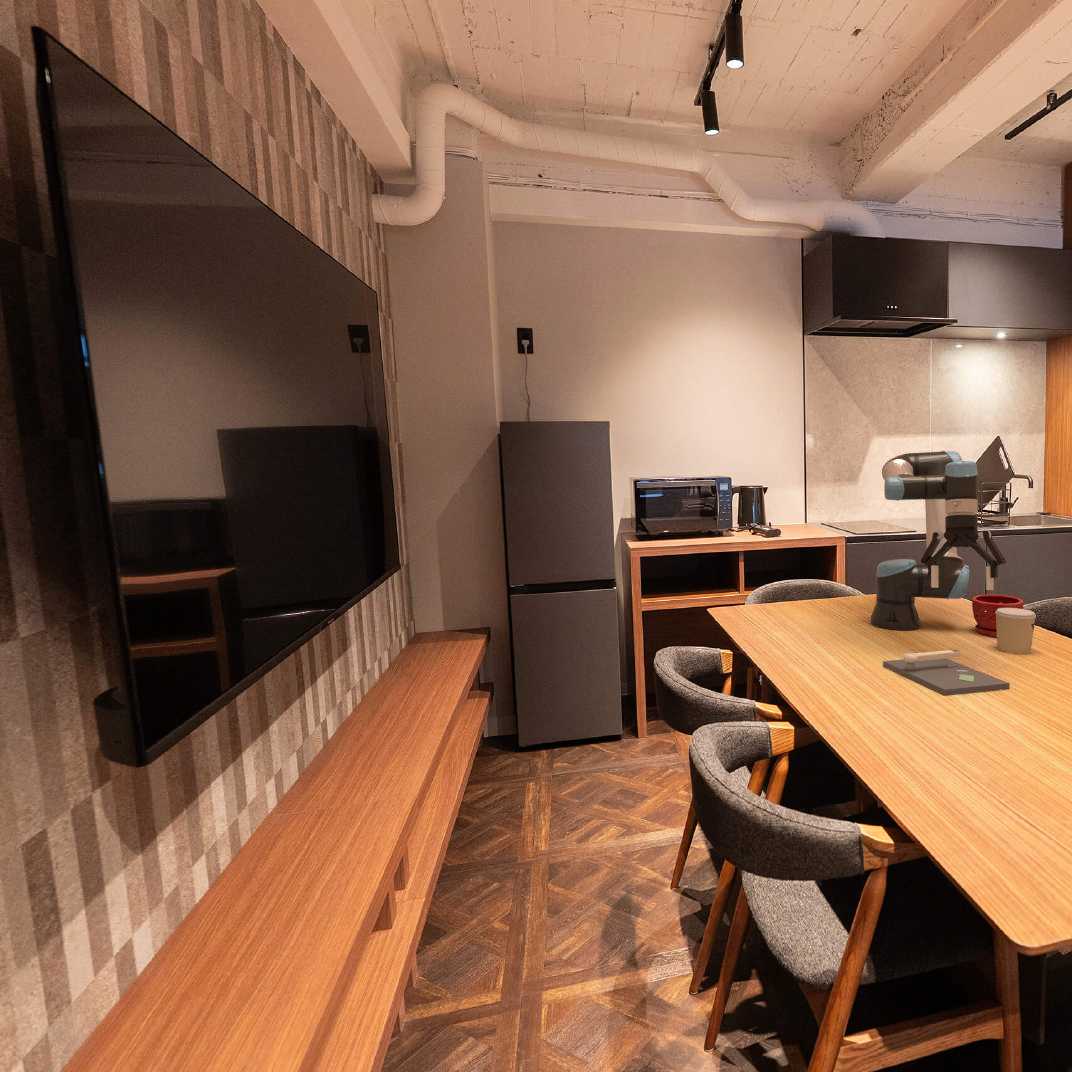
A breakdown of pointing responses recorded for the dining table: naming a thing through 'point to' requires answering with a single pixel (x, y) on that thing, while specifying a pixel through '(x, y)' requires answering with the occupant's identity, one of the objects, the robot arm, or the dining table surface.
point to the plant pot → (991, 611)
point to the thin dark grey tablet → (946, 676)
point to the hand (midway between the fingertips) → (961, 588)
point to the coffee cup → (1015, 630)
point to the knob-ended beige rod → (930, 655)
